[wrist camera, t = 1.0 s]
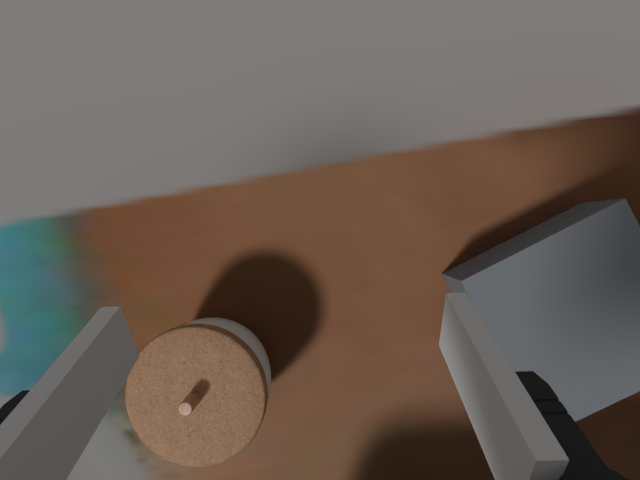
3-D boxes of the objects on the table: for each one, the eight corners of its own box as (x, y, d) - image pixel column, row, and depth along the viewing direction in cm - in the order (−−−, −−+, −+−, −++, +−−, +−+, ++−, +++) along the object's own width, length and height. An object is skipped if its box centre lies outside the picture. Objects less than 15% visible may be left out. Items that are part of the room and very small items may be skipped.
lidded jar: (276, 300, 34) (254, 327, 25) (285, 411, 34) (267, 480, 25) (165, 308, 34) (103, 338, 25) (176, 418, 35) (117, 488, 25)
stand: (651, 338, 33) (708, 358, 28) (511, 406, 33) (542, 437, 28) (580, 202, 33) (625, 198, 28) (441, 273, 33) (460, 281, 28)
